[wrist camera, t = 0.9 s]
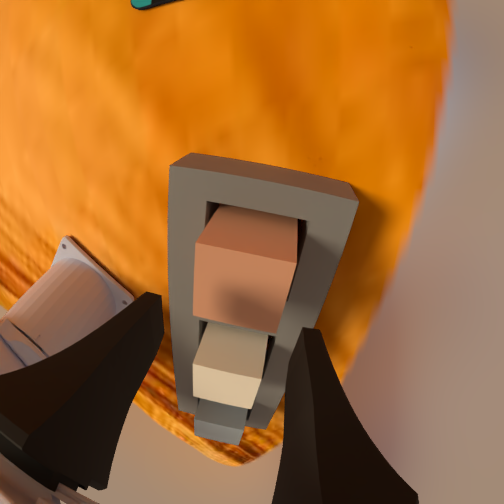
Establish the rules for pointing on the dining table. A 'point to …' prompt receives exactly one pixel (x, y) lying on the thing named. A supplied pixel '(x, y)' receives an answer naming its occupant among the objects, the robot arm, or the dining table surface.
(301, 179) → the key panel
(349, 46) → the dining table surface
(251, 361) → the white key
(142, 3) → the smartphone
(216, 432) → the slate key
